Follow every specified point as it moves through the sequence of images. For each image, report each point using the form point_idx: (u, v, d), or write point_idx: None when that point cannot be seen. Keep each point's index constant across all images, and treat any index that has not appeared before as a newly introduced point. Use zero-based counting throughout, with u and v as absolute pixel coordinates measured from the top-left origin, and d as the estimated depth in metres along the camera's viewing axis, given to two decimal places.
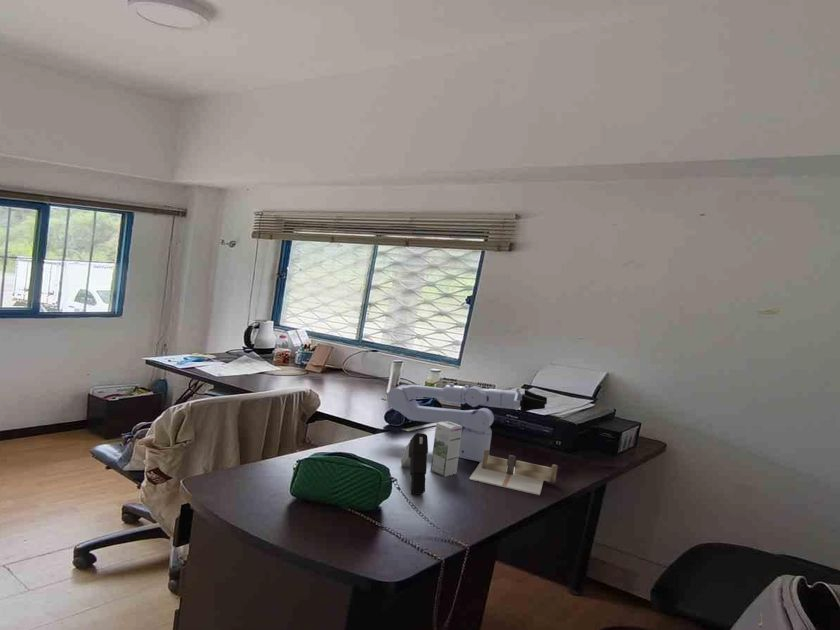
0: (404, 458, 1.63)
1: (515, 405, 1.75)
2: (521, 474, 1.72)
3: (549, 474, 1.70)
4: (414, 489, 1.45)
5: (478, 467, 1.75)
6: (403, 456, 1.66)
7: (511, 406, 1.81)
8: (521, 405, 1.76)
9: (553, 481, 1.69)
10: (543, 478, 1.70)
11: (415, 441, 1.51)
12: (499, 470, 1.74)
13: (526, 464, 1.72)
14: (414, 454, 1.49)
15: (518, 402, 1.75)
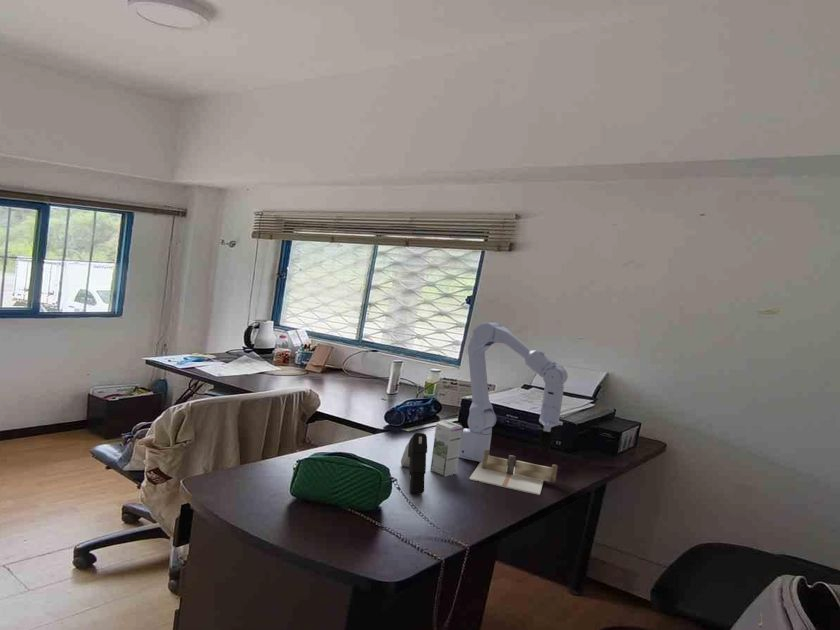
0: None
1: (545, 426, 1.68)
2: (521, 474, 1.72)
3: (549, 474, 1.70)
4: (413, 489, 1.45)
5: (478, 467, 1.75)
6: (403, 456, 1.66)
7: (543, 416, 1.73)
8: (545, 431, 1.70)
9: (553, 481, 1.69)
10: (543, 478, 1.70)
11: (414, 441, 1.51)
12: (499, 470, 1.74)
13: (526, 464, 1.72)
14: (413, 454, 1.50)
15: (549, 430, 1.68)
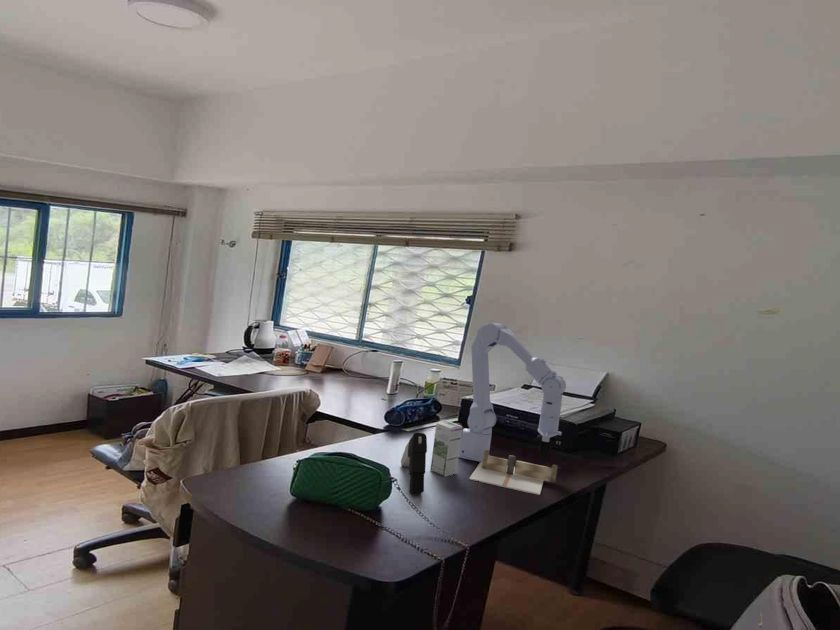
0: (404, 458, 1.63)
1: (544, 437, 1.68)
2: (521, 474, 1.72)
3: (549, 474, 1.70)
4: (413, 488, 1.45)
5: (478, 467, 1.75)
6: (403, 456, 1.66)
7: (542, 426, 1.73)
8: None
9: (553, 481, 1.69)
10: (543, 478, 1.70)
11: (414, 441, 1.51)
12: (499, 470, 1.74)
13: (526, 464, 1.72)
14: (413, 453, 1.50)
15: (547, 440, 1.68)
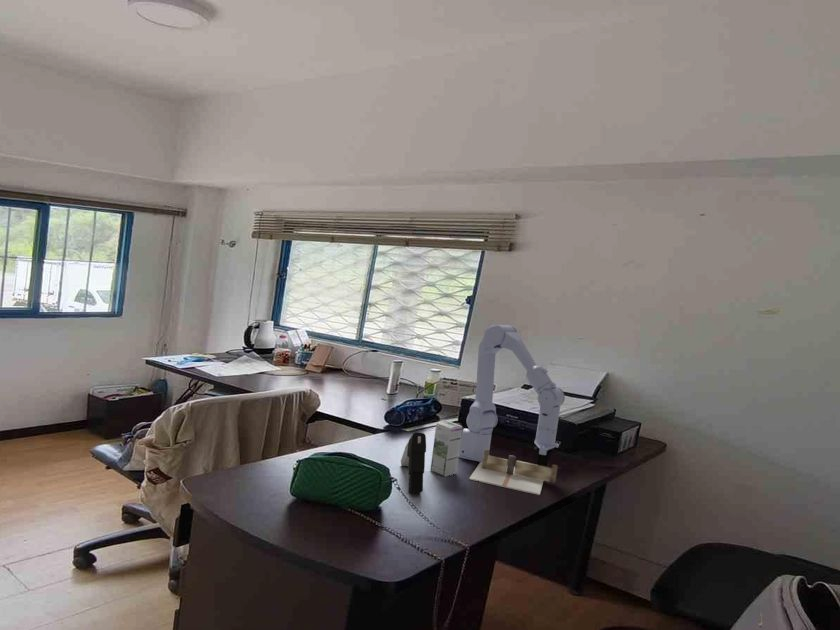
0: (403, 457, 1.64)
1: (541, 450, 1.65)
2: (521, 474, 1.72)
3: (549, 474, 1.69)
4: (412, 488, 1.45)
5: (478, 467, 1.75)
6: (403, 455, 1.66)
7: (539, 439, 1.70)
8: None
9: (553, 481, 1.69)
10: (543, 479, 1.70)
11: (413, 440, 1.51)
12: (499, 470, 1.74)
13: (525, 464, 1.71)
14: (412, 453, 1.50)
15: (544, 453, 1.64)
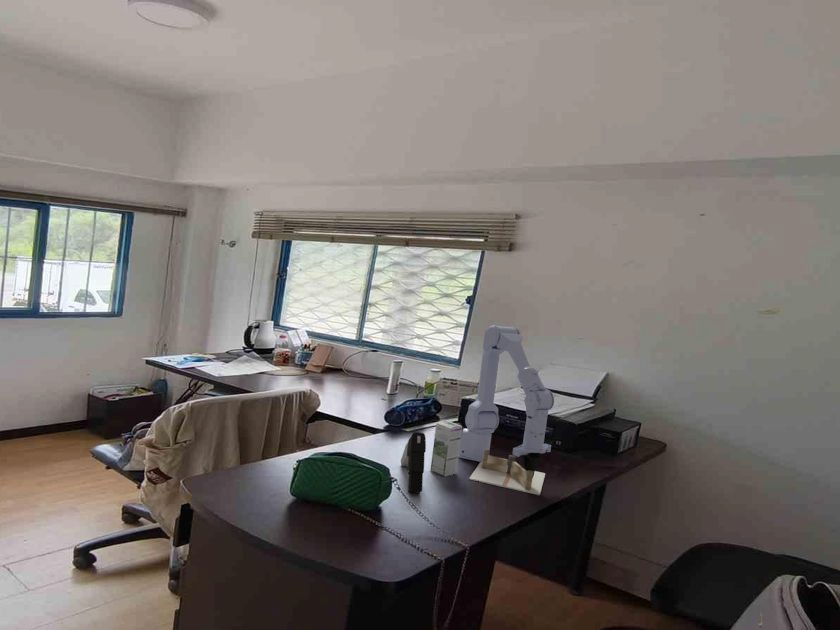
0: (403, 457, 1.64)
1: (514, 450, 1.60)
2: (513, 475, 1.70)
3: (525, 479, 1.62)
4: (411, 488, 1.46)
5: (478, 467, 1.75)
6: (402, 455, 1.67)
7: (523, 441, 1.64)
8: (525, 454, 1.64)
9: (526, 487, 1.61)
10: (522, 483, 1.64)
11: (413, 440, 1.51)
12: (499, 470, 1.74)
13: (516, 465, 1.69)
14: (412, 453, 1.50)
15: (516, 454, 1.60)
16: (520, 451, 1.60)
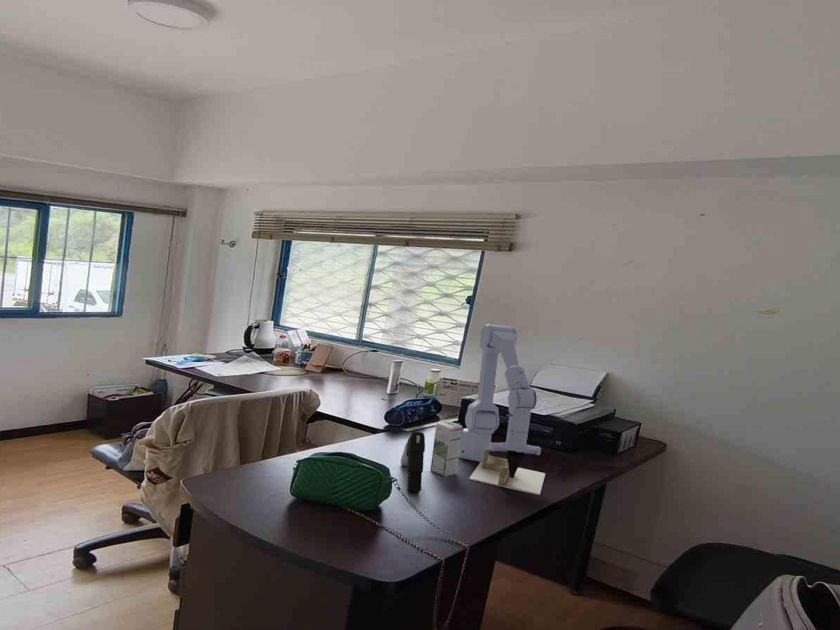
0: None
1: (490, 445, 1.63)
2: None
3: None
4: (410, 487, 1.46)
5: (478, 467, 1.75)
6: (402, 455, 1.67)
7: None
8: (506, 452, 1.64)
9: (498, 482, 1.62)
10: None
11: (412, 440, 1.51)
12: (499, 470, 1.74)
13: (507, 464, 1.69)
14: (411, 453, 1.50)
15: (491, 449, 1.62)
16: (494, 446, 1.62)
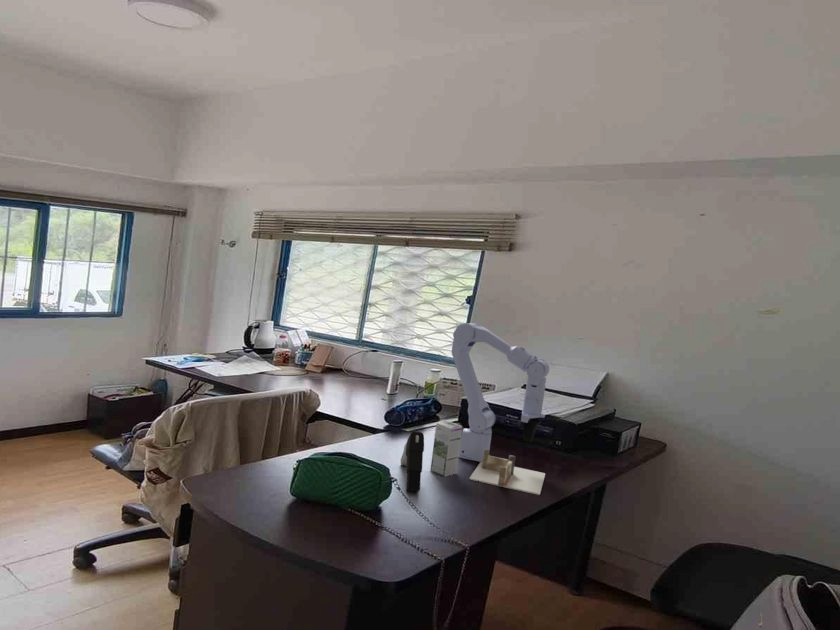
0: None
1: (523, 417, 1.73)
2: None
3: None
4: (409, 487, 1.46)
5: (478, 467, 1.75)
6: (402, 455, 1.67)
7: (524, 408, 1.78)
8: None
9: (498, 482, 1.62)
10: None
11: (411, 439, 1.52)
12: (499, 470, 1.74)
13: (507, 464, 1.69)
14: (410, 452, 1.50)
15: (526, 421, 1.72)
16: (528, 417, 1.73)
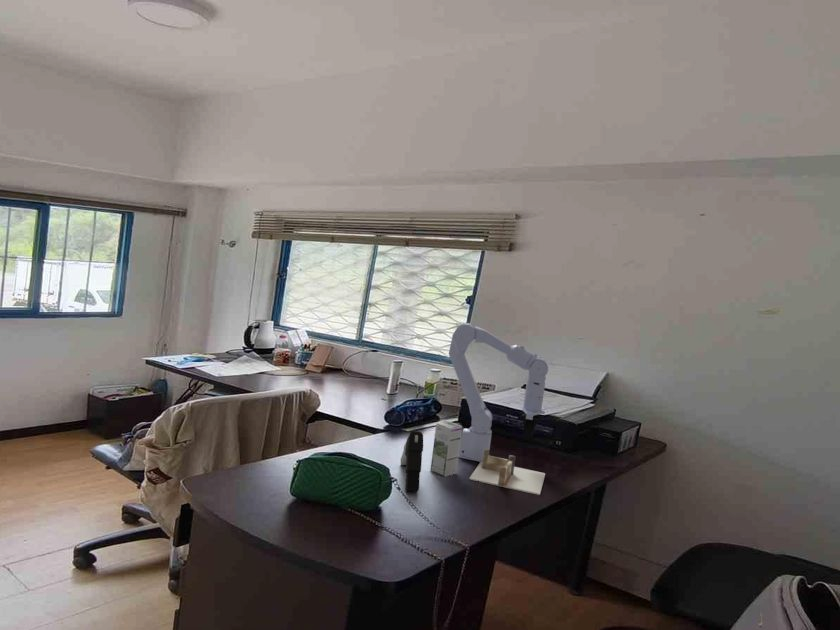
0: (402, 456, 1.64)
1: (528, 415, 1.76)
2: None
3: None
4: (408, 487, 1.46)
5: (478, 467, 1.75)
6: (402, 454, 1.67)
7: (526, 405, 1.81)
8: None
9: (498, 482, 1.62)
10: None
11: (410, 439, 1.52)
12: (499, 470, 1.74)
13: (507, 464, 1.69)
14: (409, 452, 1.51)
15: (531, 418, 1.76)
16: (533, 414, 1.77)
